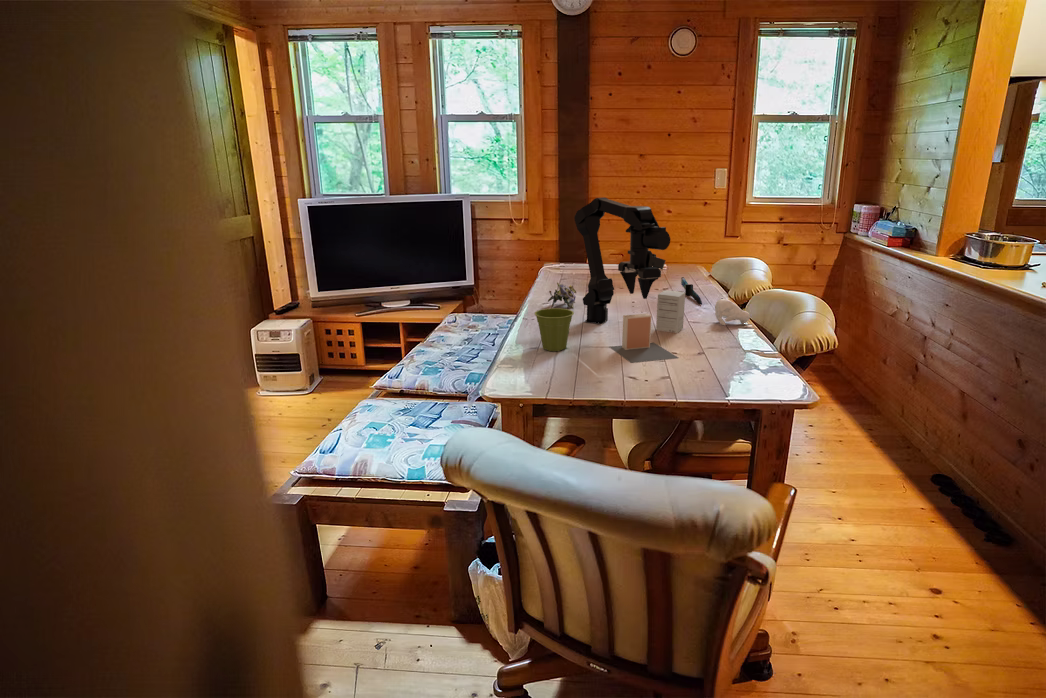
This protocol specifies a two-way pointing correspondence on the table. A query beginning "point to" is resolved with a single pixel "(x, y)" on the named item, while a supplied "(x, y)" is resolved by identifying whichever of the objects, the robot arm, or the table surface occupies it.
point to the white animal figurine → (730, 312)
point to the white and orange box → (636, 331)
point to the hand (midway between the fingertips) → (638, 296)
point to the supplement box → (670, 311)
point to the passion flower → (564, 295)
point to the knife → (690, 290)
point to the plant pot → (554, 327)
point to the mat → (644, 353)
